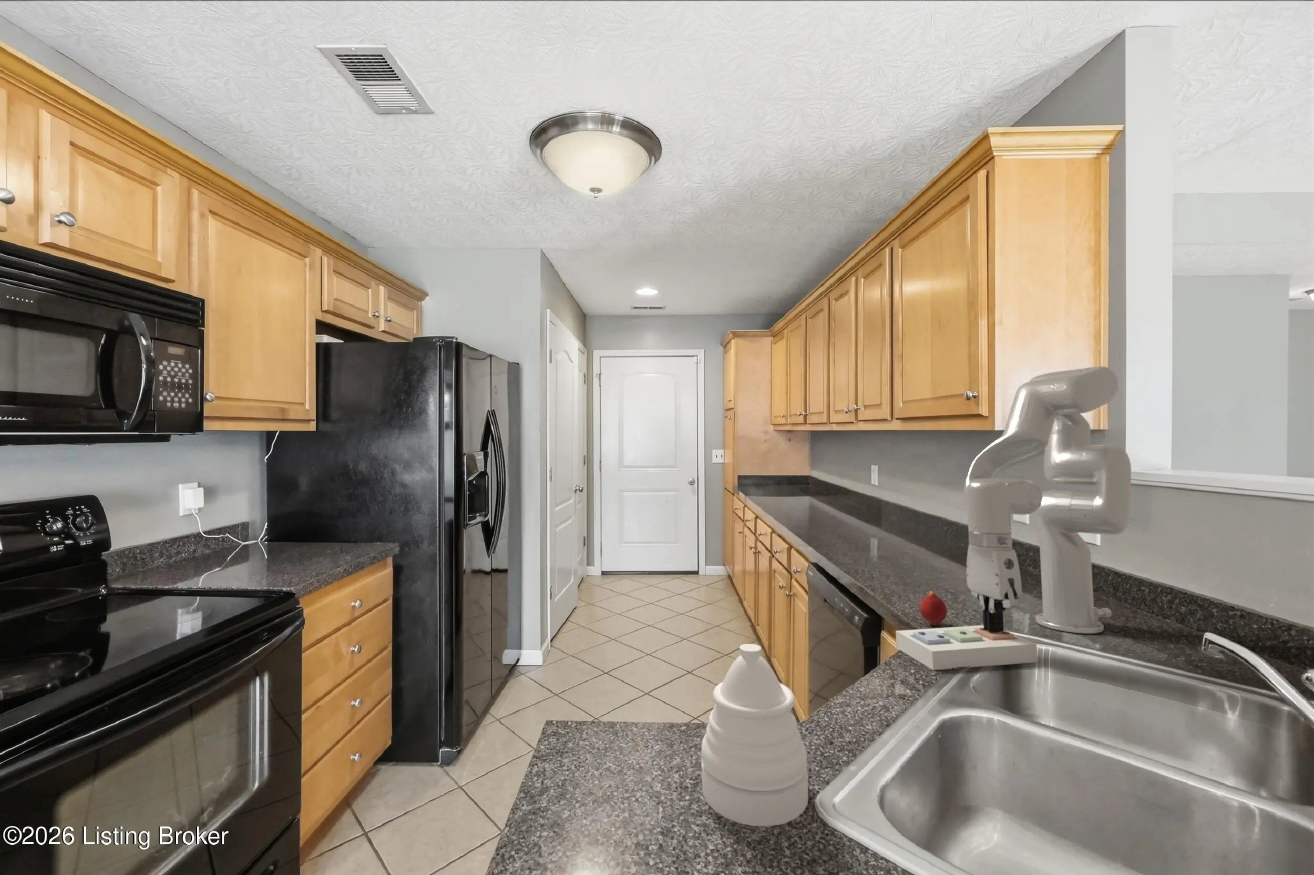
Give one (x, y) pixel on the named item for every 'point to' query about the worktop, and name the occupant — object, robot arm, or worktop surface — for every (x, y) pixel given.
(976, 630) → the key three
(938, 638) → the key two
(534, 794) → the worktop surface
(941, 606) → the onion
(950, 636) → the key one
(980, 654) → the key board
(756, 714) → the honey pot
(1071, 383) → the robot arm
